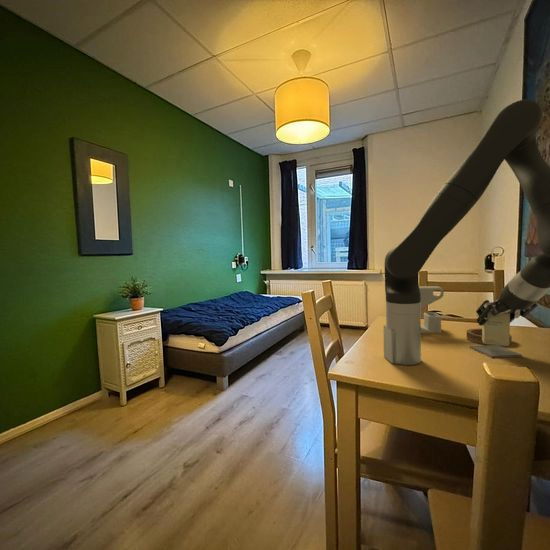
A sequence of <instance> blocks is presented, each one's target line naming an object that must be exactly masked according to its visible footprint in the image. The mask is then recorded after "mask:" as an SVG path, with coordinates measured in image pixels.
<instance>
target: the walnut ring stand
mask: <svg viewBox="0 0 550 550" xmlns="http://www.w3.org/2000/svg"><path fill="white" fill-rule="evenodd" d="M512 339H513V338H512V334H511V333H509V346H510V345H512V341H513V340H512ZM466 340H468V341H470V342H472V343H475V344H479V345H493V344H485V343H484V342H483V341H482V328H481V327H479V328H469V329H466ZM499 346H502V345H499ZM502 347H503V346H502Z"/></svg>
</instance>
